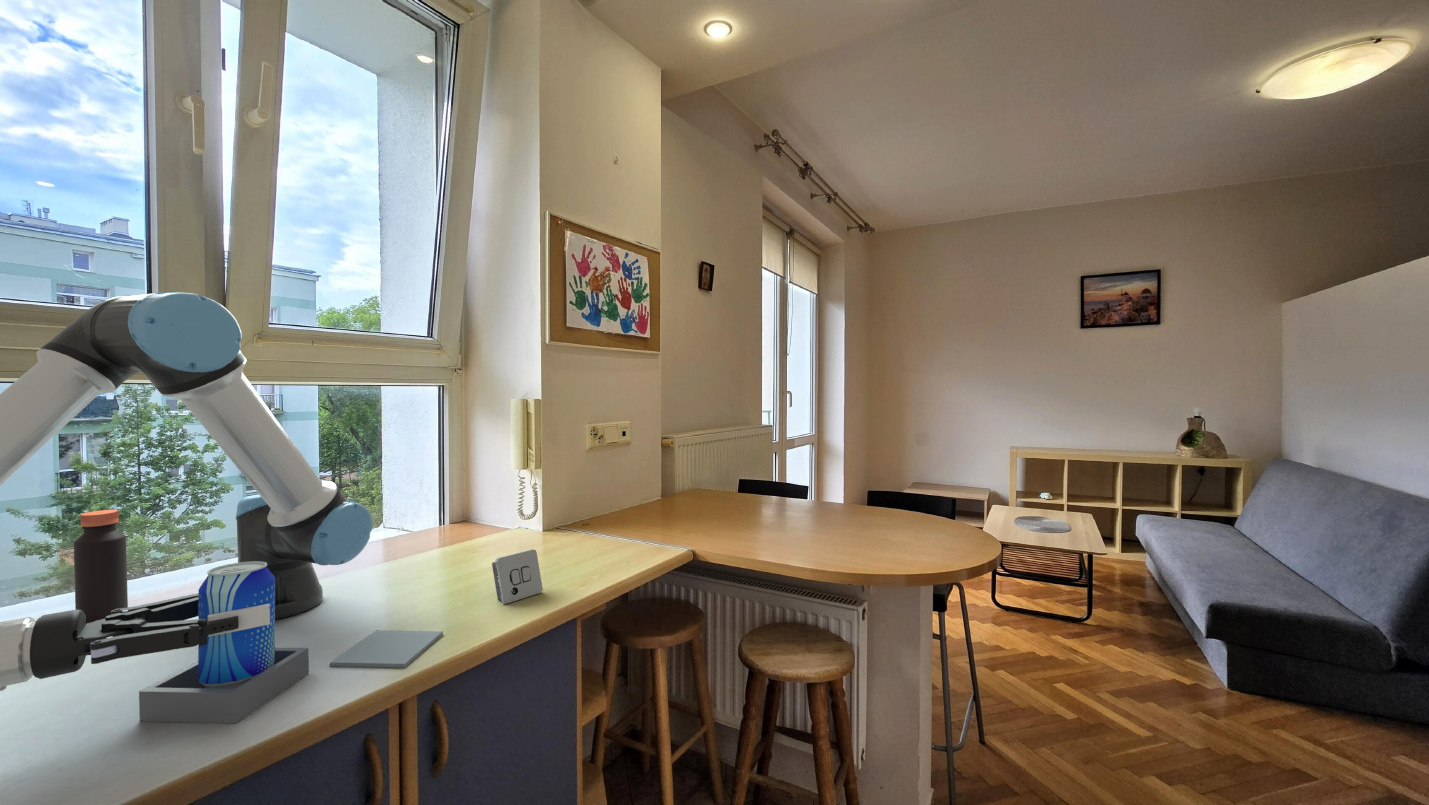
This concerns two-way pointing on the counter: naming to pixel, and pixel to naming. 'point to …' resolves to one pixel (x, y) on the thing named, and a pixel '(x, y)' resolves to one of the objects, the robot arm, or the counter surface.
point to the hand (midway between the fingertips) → (269, 603)
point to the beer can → (239, 651)
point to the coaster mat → (387, 649)
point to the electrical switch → (517, 576)
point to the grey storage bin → (220, 692)
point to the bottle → (100, 565)
